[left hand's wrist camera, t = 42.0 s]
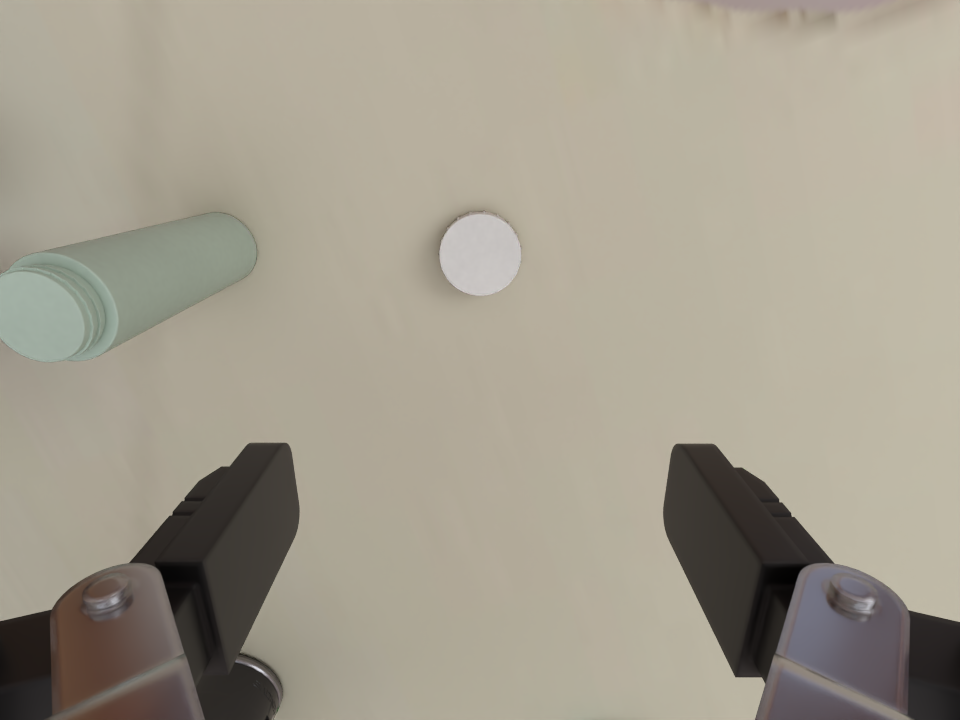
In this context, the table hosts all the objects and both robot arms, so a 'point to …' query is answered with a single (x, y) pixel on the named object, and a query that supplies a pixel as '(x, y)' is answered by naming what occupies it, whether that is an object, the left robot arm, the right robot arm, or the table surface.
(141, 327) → the jar
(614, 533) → the table surface
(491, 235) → the lid
